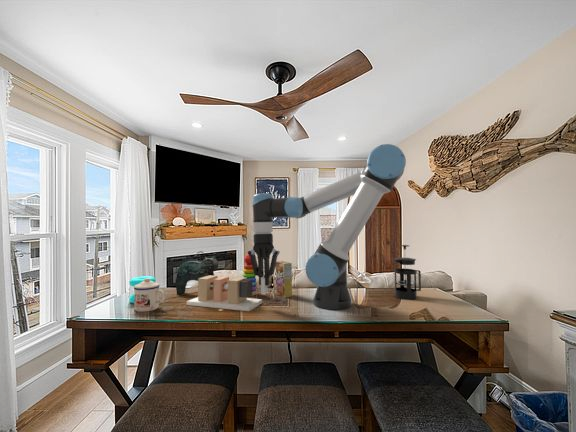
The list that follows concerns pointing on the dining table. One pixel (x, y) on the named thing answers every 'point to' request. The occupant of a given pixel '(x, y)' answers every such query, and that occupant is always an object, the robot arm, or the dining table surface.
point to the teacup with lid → (147, 296)
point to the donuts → (137, 281)
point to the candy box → (283, 279)
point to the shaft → (244, 288)
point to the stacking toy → (250, 274)
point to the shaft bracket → (222, 294)
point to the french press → (402, 291)
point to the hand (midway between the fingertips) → (264, 293)
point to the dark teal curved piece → (194, 271)
